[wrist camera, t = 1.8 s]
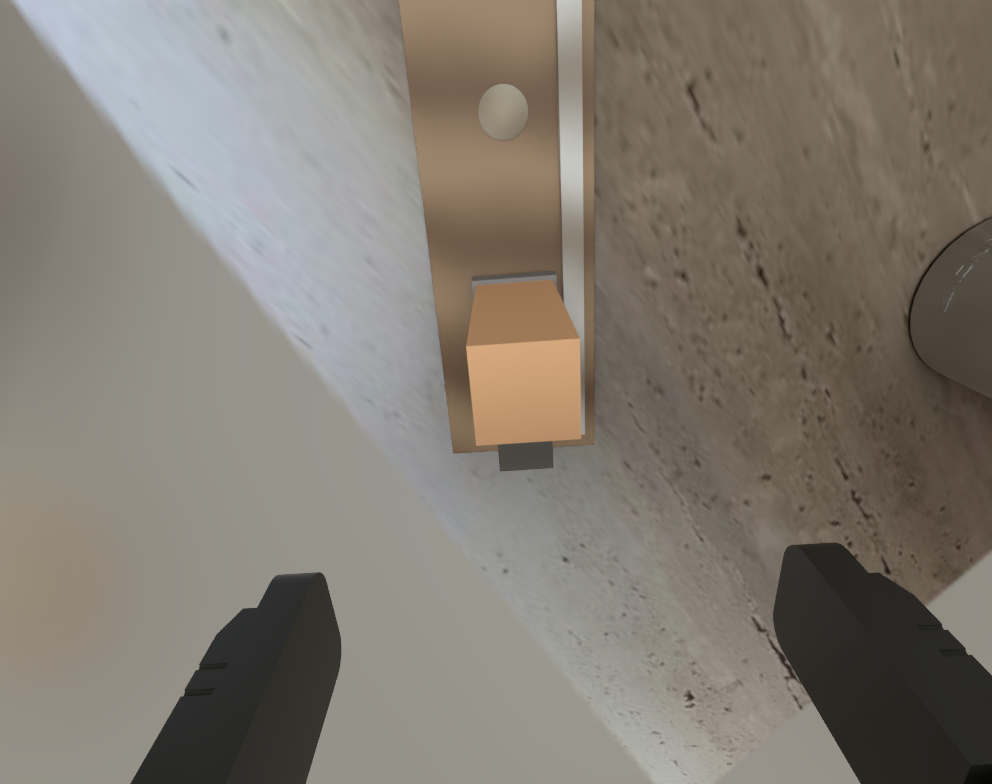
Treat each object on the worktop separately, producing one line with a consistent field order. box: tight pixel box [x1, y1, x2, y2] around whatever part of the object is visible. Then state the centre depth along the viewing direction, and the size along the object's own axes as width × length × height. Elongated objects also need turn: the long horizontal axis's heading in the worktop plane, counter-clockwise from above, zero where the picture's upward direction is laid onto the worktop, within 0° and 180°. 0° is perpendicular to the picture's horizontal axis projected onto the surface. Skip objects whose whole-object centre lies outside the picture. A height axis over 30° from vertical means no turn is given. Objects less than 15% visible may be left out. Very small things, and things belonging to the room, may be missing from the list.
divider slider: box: [466, 271, 581, 446], centre depth 22 cm, size 4×4×10 cm
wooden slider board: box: [399, 0, 594, 471], centre depth 24 cm, size 24×8×6 cm, turn 4°
